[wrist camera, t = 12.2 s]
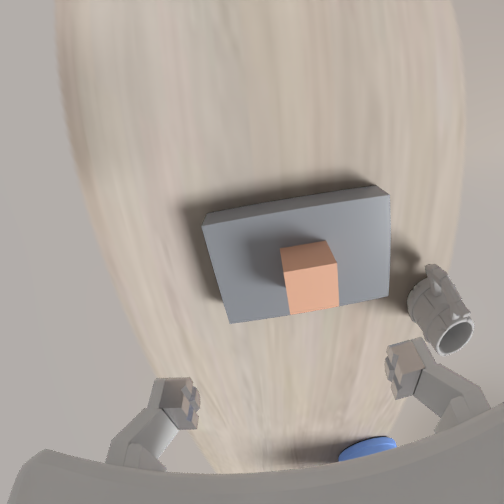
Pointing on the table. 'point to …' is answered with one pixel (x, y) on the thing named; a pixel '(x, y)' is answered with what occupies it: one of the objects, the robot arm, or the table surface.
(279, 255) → the stand
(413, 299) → the mug
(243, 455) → the table surface
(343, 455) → the water jug
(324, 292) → the cube
